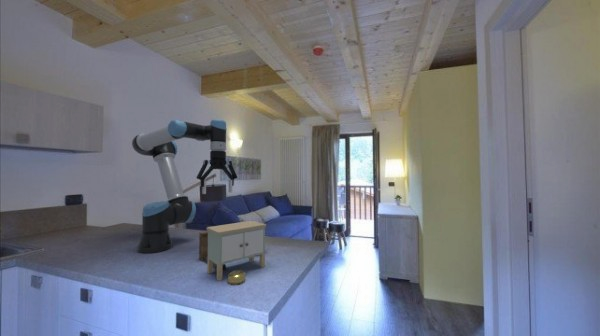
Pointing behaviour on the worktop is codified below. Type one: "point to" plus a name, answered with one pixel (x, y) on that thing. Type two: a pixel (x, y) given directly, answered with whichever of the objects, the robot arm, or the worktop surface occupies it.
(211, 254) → the cabinet
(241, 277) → the token
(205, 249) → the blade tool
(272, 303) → the worktop surface
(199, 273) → the worktop surface
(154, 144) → the robot arm
